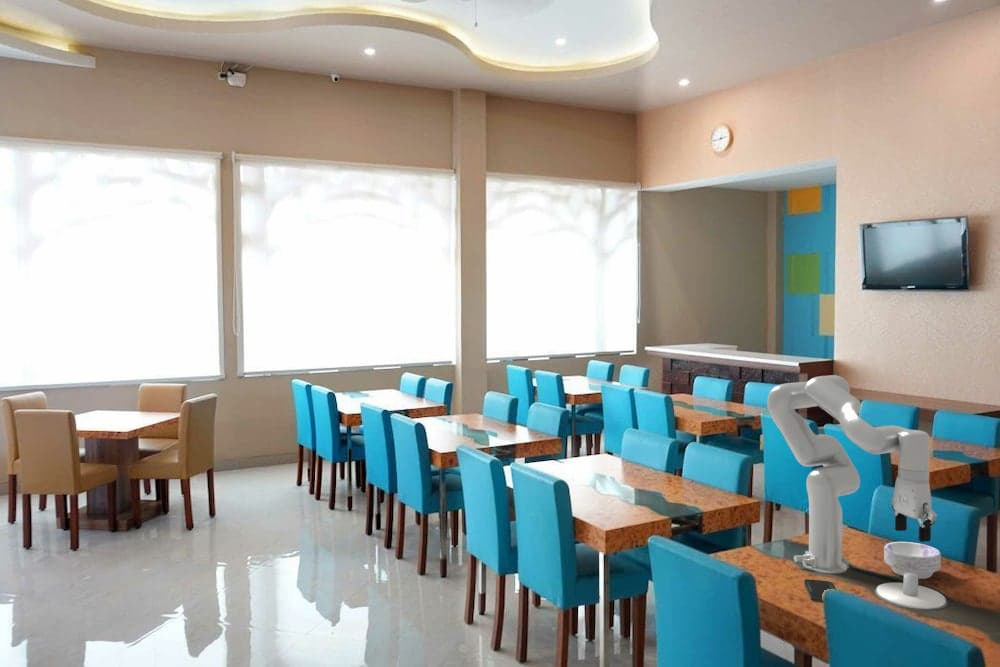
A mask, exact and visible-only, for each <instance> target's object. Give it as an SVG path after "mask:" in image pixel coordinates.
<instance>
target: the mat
mask: <svg viewBox="0 0 1000 667" xmlns="http://www.w3.org/2000/svg"><path fill="white" fill-rule="evenodd" d="M874 594H875V596H876V597H878V598H879V599H880V600H882V601H883V602H886V603H888V604H891V605H894V606H896V607H901V608H905V609H910V610H916V611H917V610H918V611H937V610H942V609H945V608H946V607H947V606H948V600H947V599H946V603H945V605H944V606H943V607H941V608H937V609H915V608H909V607H904V606H900V605H896V604H893V603H891V602H888V601H886V600H884V599H882V598H881V597H880V596H878V594H877V587H876V588H875V589H874Z"/></svg>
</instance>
